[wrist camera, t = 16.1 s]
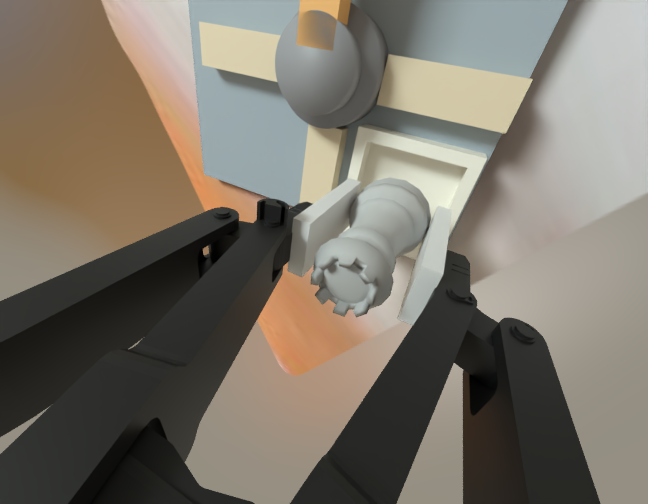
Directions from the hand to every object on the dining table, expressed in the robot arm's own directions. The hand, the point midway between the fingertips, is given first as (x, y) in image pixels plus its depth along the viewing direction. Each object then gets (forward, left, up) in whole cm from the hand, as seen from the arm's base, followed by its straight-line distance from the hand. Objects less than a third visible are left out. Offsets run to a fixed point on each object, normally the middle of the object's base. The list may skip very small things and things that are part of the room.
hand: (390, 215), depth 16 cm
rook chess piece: (0, 0, 0) cm, 0 cm away
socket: (0, 0, -4) cm, 4 cm away
